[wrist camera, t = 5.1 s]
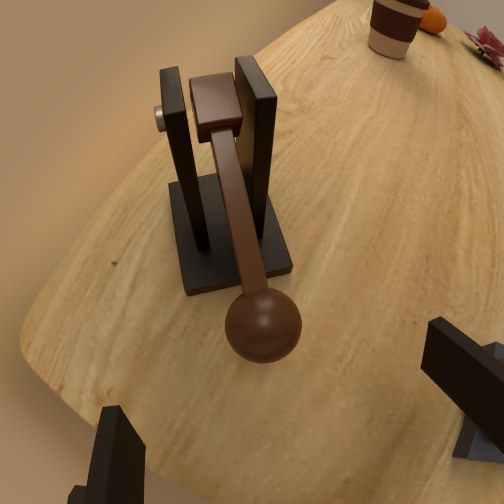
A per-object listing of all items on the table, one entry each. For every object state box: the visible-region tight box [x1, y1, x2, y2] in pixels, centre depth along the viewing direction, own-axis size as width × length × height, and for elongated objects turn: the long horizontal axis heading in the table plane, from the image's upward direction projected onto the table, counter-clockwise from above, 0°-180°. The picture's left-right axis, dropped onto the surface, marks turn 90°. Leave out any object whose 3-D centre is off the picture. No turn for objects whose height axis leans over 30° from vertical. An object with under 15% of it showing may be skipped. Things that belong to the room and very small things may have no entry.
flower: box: [464, 26, 504, 69], centre depth 49 cm, size 15×15×10 cm
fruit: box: [419, 5, 447, 33], centre depth 52 cm, size 10×10×8 cm
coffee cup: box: [368, 0, 430, 59], centre depth 37 cm, size 10×10×15 cm
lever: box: [189, 72, 302, 363], centre depth 14 cm, size 14×4×4 cm, turn 15°
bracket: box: [154, 56, 293, 296], centre depth 19 cm, size 10×8×14 cm
